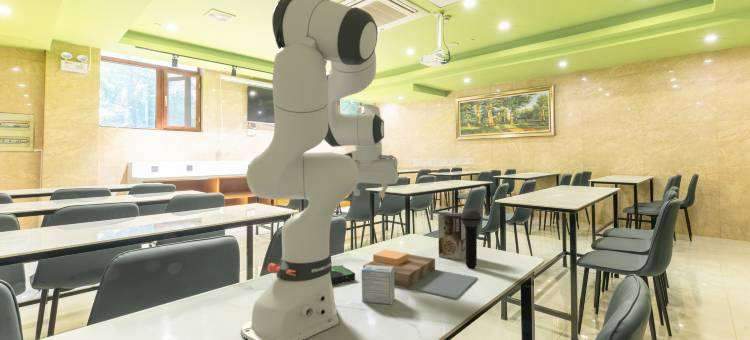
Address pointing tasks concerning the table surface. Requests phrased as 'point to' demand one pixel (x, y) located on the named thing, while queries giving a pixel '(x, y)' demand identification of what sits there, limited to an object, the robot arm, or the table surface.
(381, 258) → the orange block
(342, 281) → the disk drive
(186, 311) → the table surface
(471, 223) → the microphone
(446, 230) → the coffee box
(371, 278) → the medicine box
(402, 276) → the board
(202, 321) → the table surface
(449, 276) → the mat
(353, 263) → the table surface
